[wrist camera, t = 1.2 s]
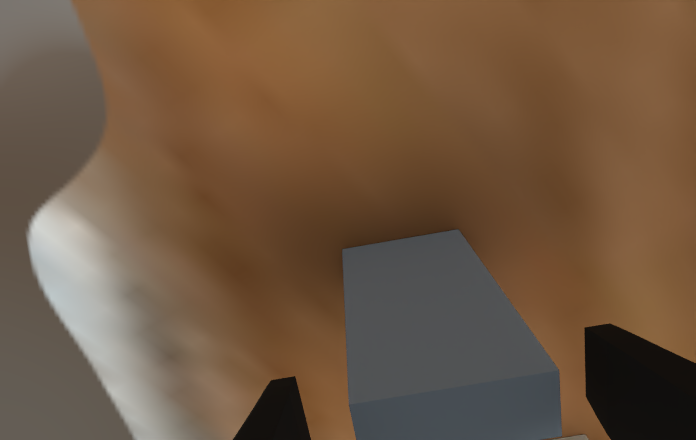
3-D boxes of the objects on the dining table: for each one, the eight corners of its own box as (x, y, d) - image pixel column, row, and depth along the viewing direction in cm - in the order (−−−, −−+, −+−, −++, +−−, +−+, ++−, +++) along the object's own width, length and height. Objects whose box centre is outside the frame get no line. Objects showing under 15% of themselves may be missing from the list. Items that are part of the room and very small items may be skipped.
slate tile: (342, 249, 19) (348, 404, 11) (458, 229, 19) (559, 370, 11) (349, 289, 20) (362, 468, 11) (462, 270, 20) (561, 435, 11)
